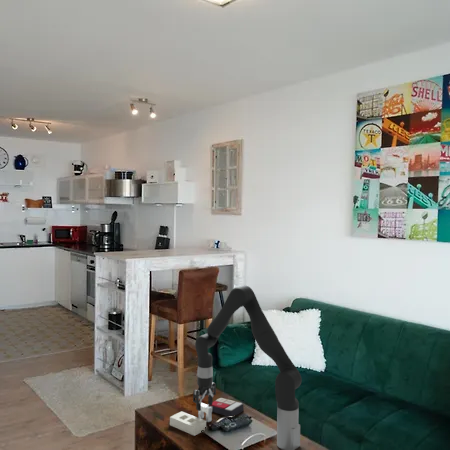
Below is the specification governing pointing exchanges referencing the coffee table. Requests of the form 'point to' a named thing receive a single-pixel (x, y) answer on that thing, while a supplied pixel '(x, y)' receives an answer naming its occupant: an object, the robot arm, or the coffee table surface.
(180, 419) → the cream white box
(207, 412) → the clip
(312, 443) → the coffee table surface
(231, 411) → the dark red white box
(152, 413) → the coffee table surface
